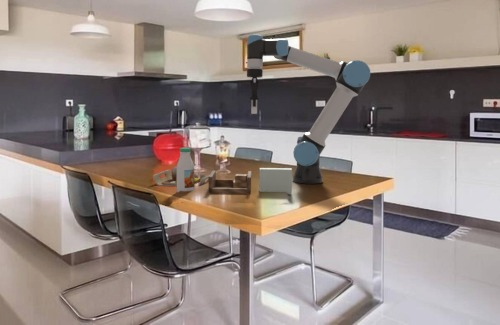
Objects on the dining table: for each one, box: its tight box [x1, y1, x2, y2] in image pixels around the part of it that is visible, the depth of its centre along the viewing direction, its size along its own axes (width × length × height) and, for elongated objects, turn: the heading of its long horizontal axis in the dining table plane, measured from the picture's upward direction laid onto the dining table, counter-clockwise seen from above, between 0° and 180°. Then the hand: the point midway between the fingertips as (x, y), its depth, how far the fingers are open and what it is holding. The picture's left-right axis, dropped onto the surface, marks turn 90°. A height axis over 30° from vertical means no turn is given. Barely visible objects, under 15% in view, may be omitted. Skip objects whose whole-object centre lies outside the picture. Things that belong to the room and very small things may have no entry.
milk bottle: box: [176, 147, 195, 193], centre depth 175 cm, size 8×8×20 cm
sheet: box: [258, 167, 293, 195], centre depth 175 cm, size 14×4×11 cm, turn 89°
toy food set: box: [152, 166, 210, 188], centre depth 197 cm, size 25×18×8 cm
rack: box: [207, 170, 252, 195], centre depth 177 cm, size 18×16×8 cm
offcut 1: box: [234, 173, 248, 183], centre depth 180 cm, size 5×4×3 cm
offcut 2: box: [233, 180, 247, 188], centre depth 181 cm, size 6×5×3 cm
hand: (254, 113), depth 193 cm, fingers open, 13 cm apart
